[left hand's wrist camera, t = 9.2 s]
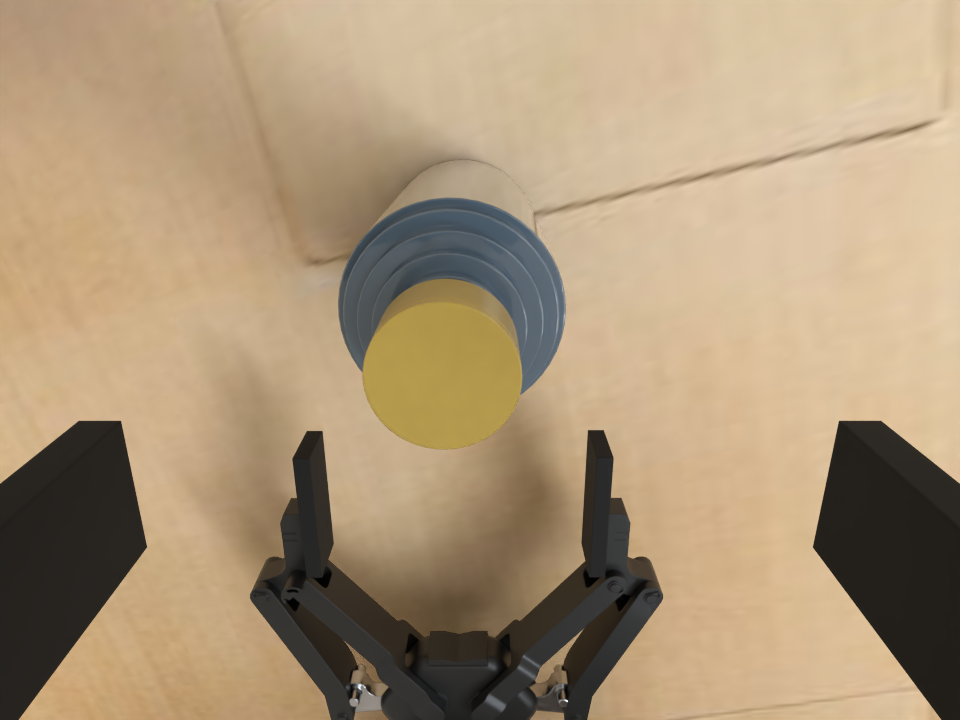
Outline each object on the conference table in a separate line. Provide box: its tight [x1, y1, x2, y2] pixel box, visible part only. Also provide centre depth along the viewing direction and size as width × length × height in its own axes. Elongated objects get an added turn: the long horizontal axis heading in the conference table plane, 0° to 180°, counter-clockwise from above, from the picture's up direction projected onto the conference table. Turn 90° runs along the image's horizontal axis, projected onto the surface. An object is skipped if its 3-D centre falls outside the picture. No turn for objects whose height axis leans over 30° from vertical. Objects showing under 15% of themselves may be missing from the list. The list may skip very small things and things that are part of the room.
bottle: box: [338, 160, 566, 395], centre depth 26 cm, size 7×7×19 cm
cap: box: [363, 279, 522, 449], centre depth 18 cm, size 4×4×2 cm
